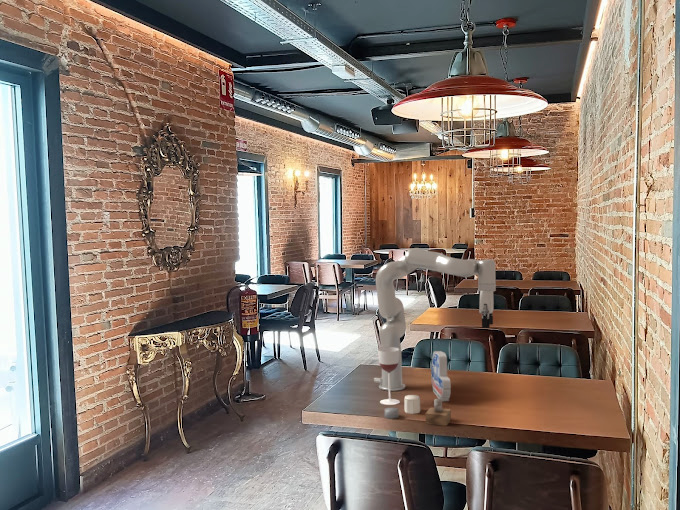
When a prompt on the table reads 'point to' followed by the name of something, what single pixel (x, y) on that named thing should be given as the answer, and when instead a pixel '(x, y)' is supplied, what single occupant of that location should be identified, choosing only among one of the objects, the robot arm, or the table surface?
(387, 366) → the wineglass
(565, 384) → the table surface
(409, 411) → the cream cap
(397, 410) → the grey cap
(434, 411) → the post base
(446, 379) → the decorative sign
